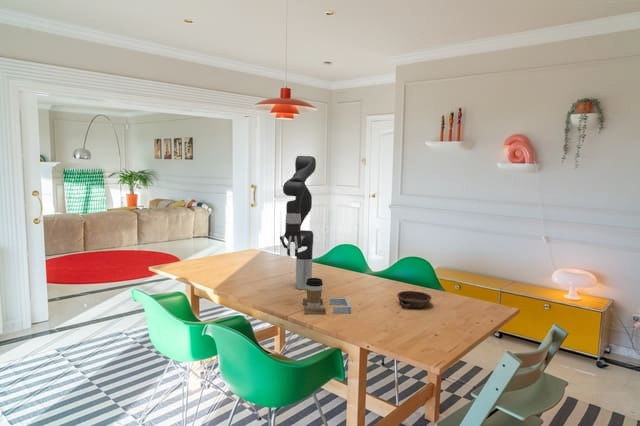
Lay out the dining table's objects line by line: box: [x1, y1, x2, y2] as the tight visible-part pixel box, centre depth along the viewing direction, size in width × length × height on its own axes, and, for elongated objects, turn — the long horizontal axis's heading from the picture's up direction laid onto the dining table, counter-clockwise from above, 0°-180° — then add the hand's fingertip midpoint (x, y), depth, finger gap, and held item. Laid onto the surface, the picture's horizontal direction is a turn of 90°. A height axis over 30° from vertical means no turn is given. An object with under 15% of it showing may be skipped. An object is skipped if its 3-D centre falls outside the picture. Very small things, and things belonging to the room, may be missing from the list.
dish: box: [396, 290, 432, 309], centre depth 229 cm, size 18×22×5 cm
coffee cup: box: [306, 277, 324, 307], centre depth 217 cm, size 8×8×15 cm
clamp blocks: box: [302, 297, 327, 315], centre depth 218 cm, size 17×10×2 cm, turn 5°
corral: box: [329, 297, 352, 314], centre depth 219 cm, size 14×8×3 cm, turn 5°
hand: (292, 256), depth 220 cm, fingers open, 2 cm apart
